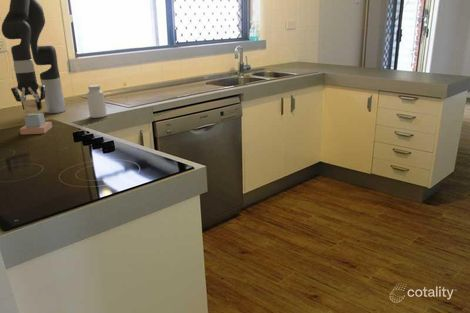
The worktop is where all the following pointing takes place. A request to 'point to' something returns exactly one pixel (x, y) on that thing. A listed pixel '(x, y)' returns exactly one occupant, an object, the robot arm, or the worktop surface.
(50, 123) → the tile base
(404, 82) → the worktop surface
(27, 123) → the blue block
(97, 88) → the pill bottle
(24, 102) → the oak block
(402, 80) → the worktop surface
